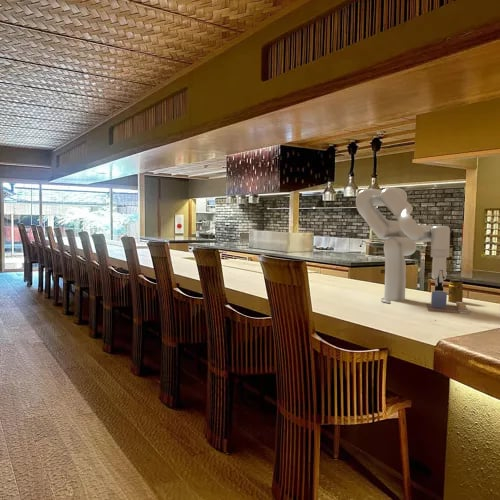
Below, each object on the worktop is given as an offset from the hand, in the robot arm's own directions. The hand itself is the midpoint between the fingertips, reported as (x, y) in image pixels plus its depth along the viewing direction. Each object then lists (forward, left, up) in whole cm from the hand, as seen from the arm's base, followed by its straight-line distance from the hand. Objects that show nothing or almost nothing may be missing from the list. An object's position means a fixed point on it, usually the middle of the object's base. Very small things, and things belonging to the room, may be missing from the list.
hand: (438, 295), depth 192 cm
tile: (+2, 0, -5) cm, 5 cm away
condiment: (-15, +10, -7) cm, 19 cm away
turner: (+5, +9, -5) cm, 11 cm away
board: (+5, +3, -7) cm, 9 cm away
